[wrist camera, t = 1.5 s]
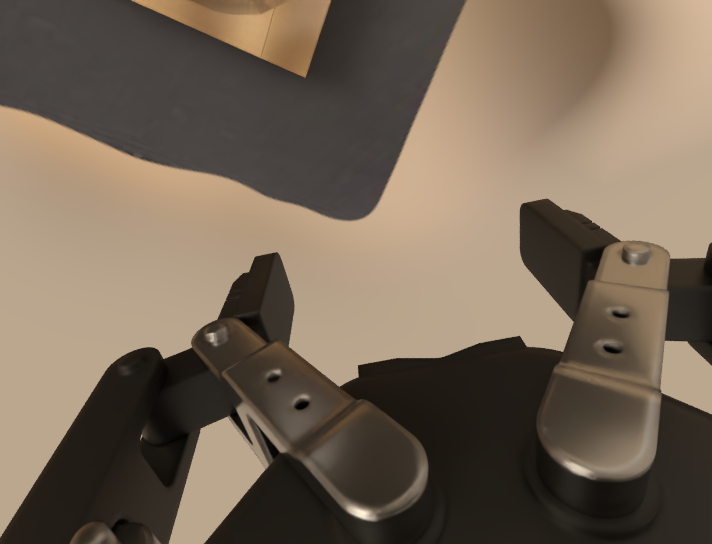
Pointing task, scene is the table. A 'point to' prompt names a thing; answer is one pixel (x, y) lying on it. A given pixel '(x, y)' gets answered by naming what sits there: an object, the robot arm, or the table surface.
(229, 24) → the wooden block with hole
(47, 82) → the table surface
